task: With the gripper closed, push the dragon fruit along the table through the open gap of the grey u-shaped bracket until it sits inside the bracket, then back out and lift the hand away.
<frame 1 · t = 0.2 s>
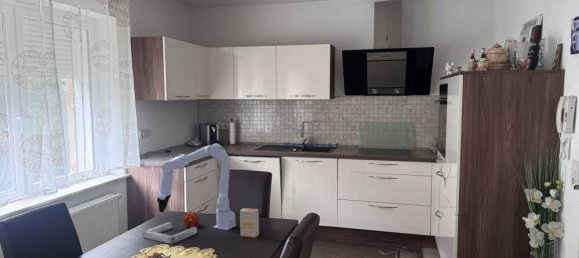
hand: (162, 209, 198), 10 cm above the table, tool pointing down, fingers open, 7 cm apart
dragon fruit: (191, 227, 203), on the table
supplement box: (249, 236, 189), on the table
grey u-shaped bracket: (171, 234, 191), on the table
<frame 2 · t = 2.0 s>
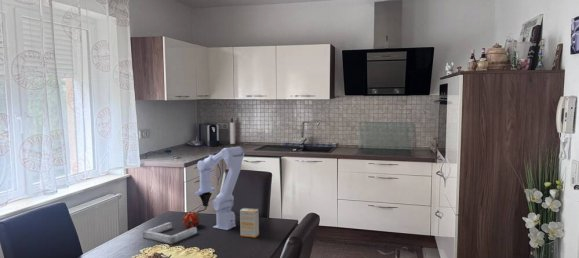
hand: (205, 206, 213), 8 cm above the table, tool pointing down, fingers closed
nothing on the table moved.
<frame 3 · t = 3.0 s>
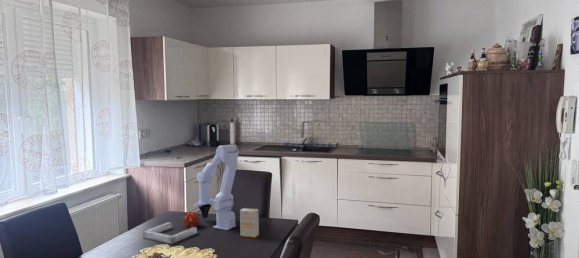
hand: (205, 217, 213), 2 cm above the table, tool pointing down, fingers closed
nothing on the table moved.
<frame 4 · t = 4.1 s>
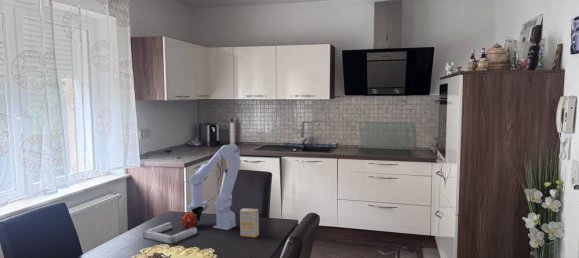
hand: (197, 220, 207), 2 cm above the table, tool pointing down, fingers closed
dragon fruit: (189, 227, 202), on the table, touching gripper
everything else where it was.
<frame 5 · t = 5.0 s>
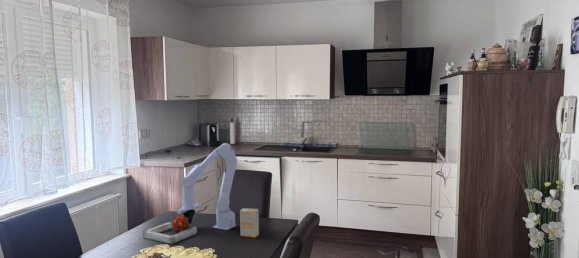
hand: (189, 224, 202), 2 cm above the table, tool pointing down, fingers closed
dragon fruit: (180, 231, 196), on the table, touching gripper
everything else where it was.
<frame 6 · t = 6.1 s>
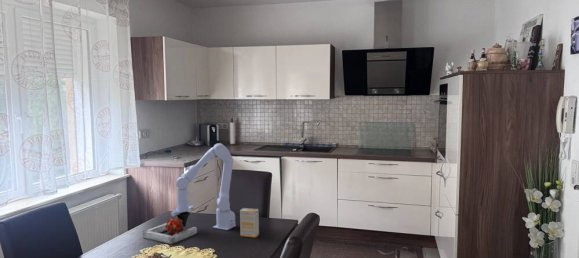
hand: (183, 226, 198), 2 cm above the table, tool pointing down, fingers closed
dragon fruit: (174, 234, 192), on the table, touching gripper
everything else where it was.
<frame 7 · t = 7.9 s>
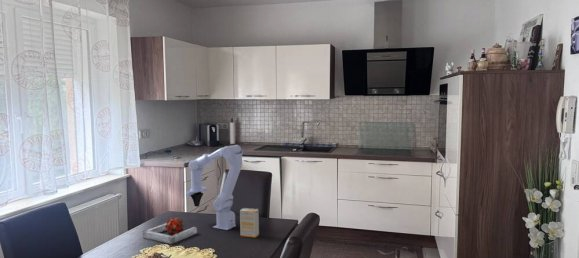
hand: (196, 206, 210), 9 cm above the table, tool pointing down, fingers closed
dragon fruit: (174, 234, 192), on the table
everything else where it was.
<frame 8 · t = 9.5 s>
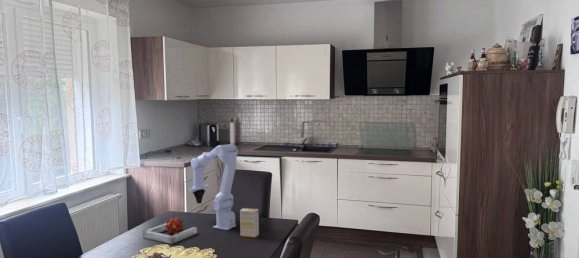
hand: (199, 203, 215), 9 cm above the table, tool pointing down, fingers closed
nothing on the table moved.
at the end: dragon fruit inside the target area on the grey u-shaped bracket (1.8 cm from its centre), point 0.0 cm above the grey u-shaped bracket's base; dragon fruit moved 12.2 cm from its start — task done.
